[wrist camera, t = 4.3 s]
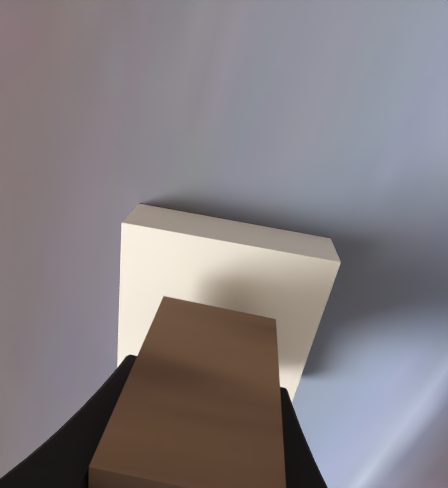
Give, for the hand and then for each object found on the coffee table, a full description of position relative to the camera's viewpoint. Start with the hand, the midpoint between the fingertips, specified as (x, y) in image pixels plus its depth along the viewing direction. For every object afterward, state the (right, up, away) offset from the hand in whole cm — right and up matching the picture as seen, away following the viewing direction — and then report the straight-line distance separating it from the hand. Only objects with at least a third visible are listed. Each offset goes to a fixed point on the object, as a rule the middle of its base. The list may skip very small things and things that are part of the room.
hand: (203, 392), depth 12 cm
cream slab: (+1, +2, +5) cm, 6 cm away
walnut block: (0, +1, +2) cm, 2 cm away
